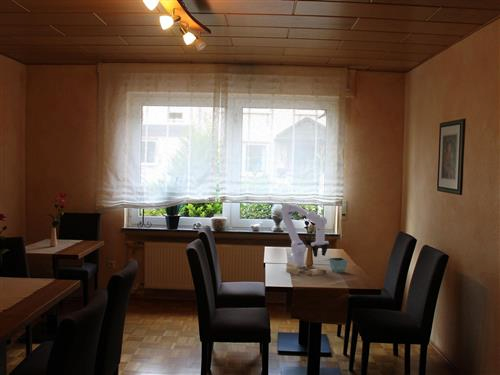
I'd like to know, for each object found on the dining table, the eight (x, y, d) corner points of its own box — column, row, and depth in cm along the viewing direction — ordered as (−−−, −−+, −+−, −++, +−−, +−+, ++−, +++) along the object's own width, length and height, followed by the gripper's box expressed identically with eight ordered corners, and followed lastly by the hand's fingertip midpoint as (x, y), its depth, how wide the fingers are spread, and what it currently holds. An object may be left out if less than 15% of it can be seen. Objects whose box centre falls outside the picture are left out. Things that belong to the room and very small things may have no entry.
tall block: (296, 275, 296) (296, 265, 296) (286, 272, 303) (286, 262, 303) (298, 274, 298) (299, 265, 297) (289, 271, 305) (289, 262, 304)
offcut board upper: (309, 272, 299) (309, 270, 299) (316, 270, 304) (316, 268, 304) (314, 273, 296) (314, 271, 296) (321, 271, 302) (321, 269, 302)
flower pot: (334, 274, 303) (335, 260, 303) (328, 271, 312) (329, 257, 311) (347, 274, 306) (347, 260, 305) (341, 271, 314) (341, 257, 314)
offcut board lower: (306, 273, 299) (306, 271, 299) (317, 271, 305) (317, 270, 305) (311, 275, 295) (311, 273, 295) (322, 273, 301) (323, 271, 301)
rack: (294, 273, 304) (294, 268, 304) (310, 270, 313) (310, 266, 313) (310, 277, 293) (310, 272, 293) (326, 274, 302) (326, 270, 302)
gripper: (316, 236, 303) (316, 258, 304) (332, 235, 312) (331, 255, 313) (309, 235, 309) (308, 256, 309) (324, 233, 318) (323, 254, 318)
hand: (319, 256), depth 312 cm, fingers open, 7 cm apart
